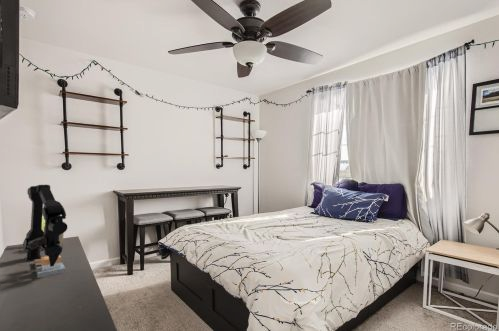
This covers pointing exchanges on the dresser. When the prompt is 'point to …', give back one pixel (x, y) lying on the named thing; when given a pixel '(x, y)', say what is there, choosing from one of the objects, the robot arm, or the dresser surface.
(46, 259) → the cover
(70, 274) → the dresser surface
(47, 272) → the slate stand
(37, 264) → the walnut stand
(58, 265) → the housing base
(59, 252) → the robot arm
